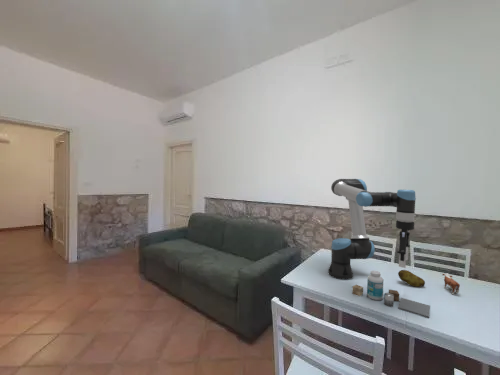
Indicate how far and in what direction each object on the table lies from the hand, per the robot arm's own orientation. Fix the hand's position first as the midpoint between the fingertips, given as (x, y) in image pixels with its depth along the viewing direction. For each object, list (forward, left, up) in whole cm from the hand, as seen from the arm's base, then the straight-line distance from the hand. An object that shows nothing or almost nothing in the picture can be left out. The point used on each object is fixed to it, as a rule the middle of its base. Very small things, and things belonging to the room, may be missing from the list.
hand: (403, 263), depth 116 cm
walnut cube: (-4, +3, -21) cm, 22 cm away
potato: (+1, +30, -21) cm, 37 cm away
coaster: (+5, 0, -21) cm, 22 cm away
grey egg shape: (-5, -5, -21) cm, 22 cm away
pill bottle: (-12, -1, -21) cm, 24 cm away
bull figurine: (+19, +36, -21) cm, 46 cm away
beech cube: (-20, -3, -21) cm, 29 cm away
